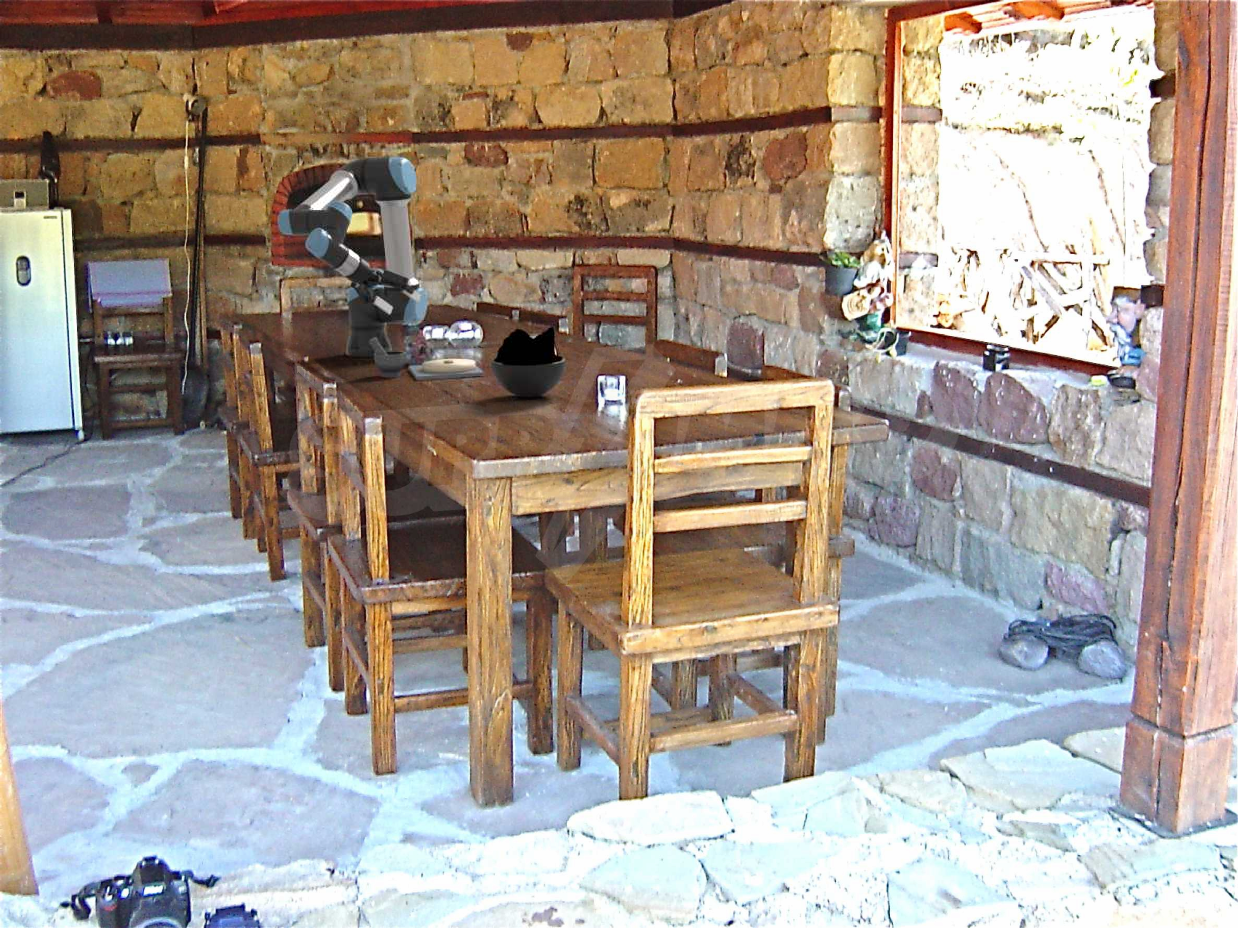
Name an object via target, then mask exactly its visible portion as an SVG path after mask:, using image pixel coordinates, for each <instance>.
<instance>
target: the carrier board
mask: <svg viewBox="0 0 1238 928" xmlns="http://www.w3.org/2000/svg"><path fill="white" fill-rule="evenodd" d="M408 371H409V372H410V374H411V375H412V376H413V378H414V379H415V380H416V381H429V380H445V379H448V380H449V379H460V378H461V377H465V378H474V377H473V376H481V377H485V372H484V371H483V370H482V369H480V367H479V366H477V365H476V360H474V359H467V358H466V359H464V358H447V359H446V358H444V359H437V360H432V361H427V362H424V363H422V365H415V366H411V365H408Z"/></svg>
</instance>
